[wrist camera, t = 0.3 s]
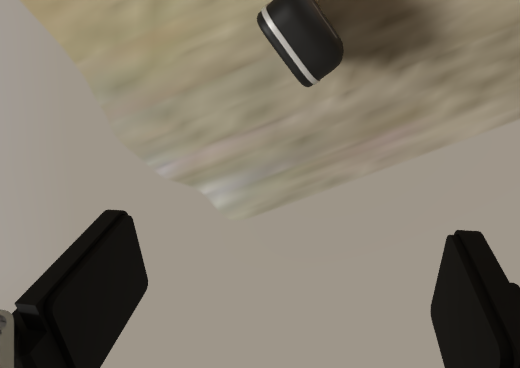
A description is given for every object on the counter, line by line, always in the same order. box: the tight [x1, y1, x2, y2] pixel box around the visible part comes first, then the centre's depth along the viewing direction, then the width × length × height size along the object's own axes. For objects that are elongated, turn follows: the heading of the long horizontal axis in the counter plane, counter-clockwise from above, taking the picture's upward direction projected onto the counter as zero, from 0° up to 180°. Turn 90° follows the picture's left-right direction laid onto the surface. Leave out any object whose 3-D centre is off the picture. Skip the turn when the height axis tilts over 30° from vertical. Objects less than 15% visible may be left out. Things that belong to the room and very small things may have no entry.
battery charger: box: [257, 0, 343, 87], centre depth 32 cm, size 7×4×11 cm, turn 39°
